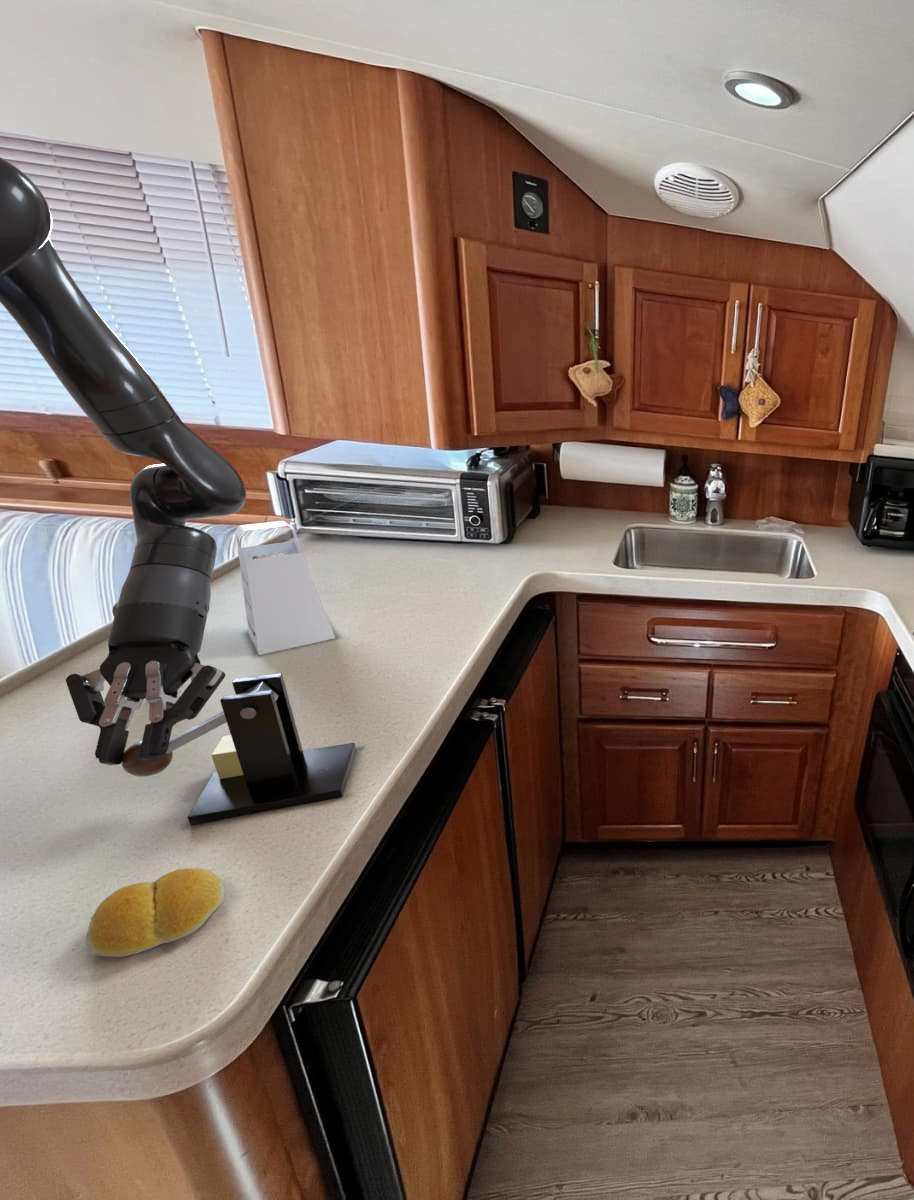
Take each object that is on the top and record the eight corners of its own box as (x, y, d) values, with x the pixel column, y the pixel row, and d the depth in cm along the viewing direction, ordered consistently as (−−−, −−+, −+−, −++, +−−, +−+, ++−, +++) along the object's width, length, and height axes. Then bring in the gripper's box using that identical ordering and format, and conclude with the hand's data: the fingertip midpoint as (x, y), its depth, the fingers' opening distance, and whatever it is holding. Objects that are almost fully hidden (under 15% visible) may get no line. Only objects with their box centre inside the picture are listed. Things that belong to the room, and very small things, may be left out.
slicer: (190, 826, 70) (151, 720, 65) (221, 771, 78) (188, 674, 73) (342, 797, 76) (317, 698, 70) (356, 749, 84) (335, 658, 79)
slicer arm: (136, 790, 69) (103, 767, 67) (152, 768, 72) (120, 745, 70) (277, 714, 72) (249, 689, 70) (286, 696, 75) (259, 672, 73)
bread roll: (227, 925, 59) (215, 894, 58) (88, 977, 54) (71, 944, 52) (227, 869, 65) (217, 839, 64) (102, 911, 60) (87, 879, 58)
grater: (248, 632, 111) (217, 522, 103) (320, 618, 118) (296, 513, 110) (259, 655, 104) (226, 538, 96) (335, 638, 111) (310, 528, 104)
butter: (219, 779, 75) (211, 755, 74) (230, 759, 79) (222, 736, 77) (261, 772, 77) (254, 748, 76) (270, 753, 80) (263, 730, 79)
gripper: (60, 602, 68) (14, 764, 62) (217, 596, 72) (187, 748, 66) (112, 626, 75) (74, 774, 69) (252, 619, 79) (229, 759, 73)
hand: (130, 761), depth 68 cm, fingers closed on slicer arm, 2 cm apart
